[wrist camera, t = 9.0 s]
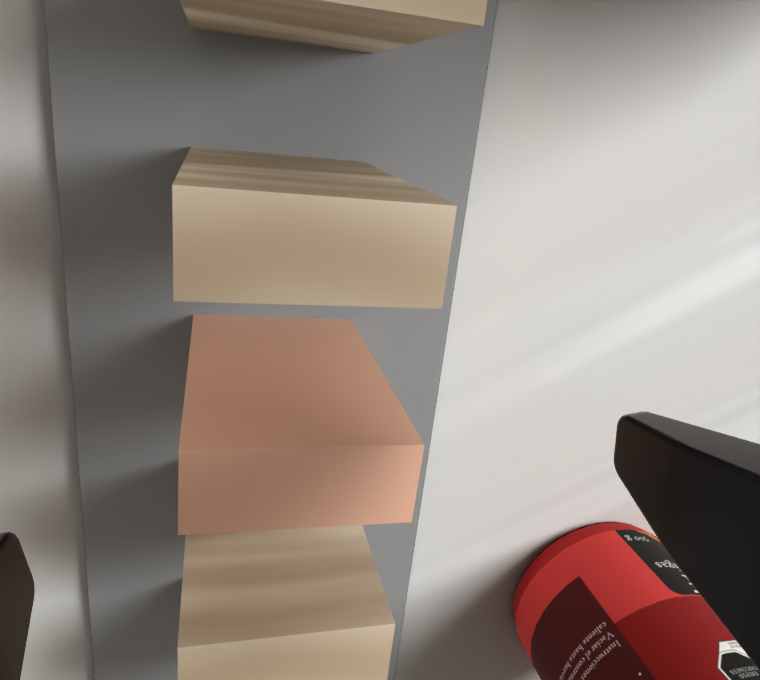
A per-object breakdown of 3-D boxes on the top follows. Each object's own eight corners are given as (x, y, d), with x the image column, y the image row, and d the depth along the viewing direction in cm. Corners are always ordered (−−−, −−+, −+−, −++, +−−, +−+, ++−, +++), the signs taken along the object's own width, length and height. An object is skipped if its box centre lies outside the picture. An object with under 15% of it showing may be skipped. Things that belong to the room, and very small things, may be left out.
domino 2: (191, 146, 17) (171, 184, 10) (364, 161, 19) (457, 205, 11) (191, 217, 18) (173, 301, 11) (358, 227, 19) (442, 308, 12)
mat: (523, -215, 16) (532, -223, 16) (390, 674, 28) (393, 684, 27) (23, -351, 13) (16, -366, 13) (100, 713, 24) (97, 724, 24)
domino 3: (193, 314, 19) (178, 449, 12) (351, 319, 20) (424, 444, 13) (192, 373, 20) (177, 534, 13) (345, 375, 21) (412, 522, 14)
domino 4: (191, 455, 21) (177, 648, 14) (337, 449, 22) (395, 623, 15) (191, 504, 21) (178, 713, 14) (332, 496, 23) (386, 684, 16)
